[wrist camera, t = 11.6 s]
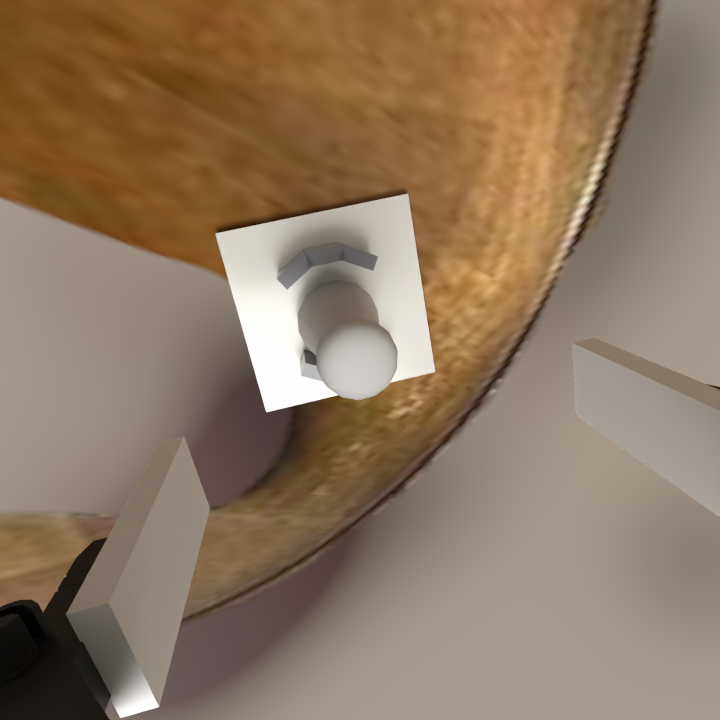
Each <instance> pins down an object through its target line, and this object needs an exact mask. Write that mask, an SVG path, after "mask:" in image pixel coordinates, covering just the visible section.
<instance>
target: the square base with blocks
mask: <svg viewBox="0 0 720 720" xmlns="http://www.w3.org/2000/svg"><path fill="white" fill-rule="evenodd" d="M215 234H216V238H217V241H218V245H219V248H220V252H221V255H222V259H223V262H224V266H225V269H226V273H227V276H228V280H229V283H230V287H231V290H232V294H233V297H234V301H235V304H236V308H237V311H238V315H239V318H240V322H241V325H242V328H243V332H244V336H245V339H246V343H247V346H248V349H249V353H250V357H251V360H252V364H253V367H254V371H255V374H256V378H257V381H258V385H259V388H260V391H261V395H262V399H263V402H264V406H265V409H266V412H269V411H273V410H278V409H282V408H286V407H290V406H295V405H299V404H303V403H307V402H311V401H315V400H320V399H324V398H328V397H332V396H336V395H338V394H336V393H335V392H333V391H332V390H330V389H329V388H327V386H326V385H325V384H324V382H323V380H322V378H321V376H320V374H319V373H318V371H317V363H316V355H315V354H314V353H313V352H312V351H310V350H309V349H308V348H307V347H306V345H305V343H304V341H303V339H302V337H301V335H300V333H299V331H298V315H297V313H298V311H299V309H300V307H301V304H302V302H303V300H304V298H305V296H306V295H307V294H309V293H310V292H311V291H312V290H313V289H314V288H316V287H317V286H318V285H319V284H322V283H326V282H330V281H334V280H341V281H346V282H351V283H356V284H357V285H358V286H360V287H361V288H362V289H363V290H365V291H366V292H367V293H369V294H370V295H371V298H372V300H373V302H374V304H375V306H376V308H377V310H378V317H379V324H380V325H381V326H382V327H383V328H385V329H386V330H387V331H388V332H389V333H390V335H391V337H392V339H393V341H394V343H395V345H396V347H397V351H398V357H397V370H396V372H395V374H394V376H393V378H392V380H391V382H395V381H399V380H403V379H407V378H411V377H416V376H420V375H424V374H428V373H432V372H435V368H434V361H433V355H432V348H431V342H430V335H429V328H428V322H427V315H426V309H425V302H424V296H423V289H422V283H421V276H420V269H419V263H418V256H417V250H416V243H415V237H414V230H413V223H412V217H411V210H410V204H409V197H408V194H403V195H398V196H394V197H389V198H384V199H379V200H374V201H369V202H365V203H360V204H355V205H350V206H345V207H341V208H336V209H331V210H326V211H321V212H316V213H312V214H307V215H302V216H297V217H292V218H287V219H283V220H278V221H273V222H268V223H263V224H258V225H254V226H249V227H244V228H239V229H234V230H229V231H225V232H220V233H215ZM391 382H390V383H391Z"/></svg>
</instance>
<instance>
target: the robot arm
mask: <svg viewBox="0 0 720 720" xmlns="http://www.w3.org/2000/svg"><path fill="white" fill-rule="evenodd" d="M572 345H573V366H574V367H573V368H574V389H575V412H576V416H577V417H579V418H580V419H582V420H583V421H584V422H586V423H587V424H589V425H590V426H592V427H593V428H594V429H596V430H597V431H599V432H600V433H601V434H603V435H604V436H606V437H607V438H609V439H610V440H611V441H613V442H614V443H616V444H617V445H618V446H620V447H621V448H623V449H624V450H626V451H627V452H628V453H630V454H631V455H633V456H634V457H636V458H637V459H638V460H640V461H641V462H643V463H644V464H646V465H647V466H648V467H650V468H651V469H652V470H654V471H655V472H657V473H658V474H660V475H661V476H662V477H664V478H665V479H667V480H668V481H669V482H671V483H672V484H674V485H675V486H677V487H678V488H679V489H681V490H682V491H684V492H685V493H686V494H688V495H689V496H691V497H692V498H694V499H695V500H696V501H698V502H699V503H701V504H702V505H703V506H705V507H706V508H708V509H709V510H711V511H712V512H713V513H715V514H716V515H718V516H719V517H720V387H717V386H712V385H708V384H704V383H701V382H699V381H697V380H694V379H692V378H689V377H687V376H684V375H682V374H680V373H677V372H675V371H672V370H670V369H668V368H665V367H663V366H660V365H658V364H656V363H653V362H651V361H648V360H646V359H643V358H641V357H639V356H636V355H634V354H631V353H629V352H626V351H624V350H622V349H619V348H617V347H614V346H612V345H610V344H607V343H605V342H602V341H600V340H597V339H595V338H591V339H587V340H582V341H579V342H574V343H572ZM209 510H210V508H209V505H208V502H207V499H206V497H205V494H204V491H203V488H202V485H201V483H200V480H199V477H198V475H197V472H196V469H195V466H194V463H193V460H192V457H191V455H190V452H189V449H188V446H187V444H186V441H185V438H184V437H180V438H176V439H172V440H168V441H164V442H160V443H159V444H158V446H157V448H156V450H155V452H154V454H153V455H152V457H151V459H150V461H149V463H148V465H147V466H146V468H145V470H144V472H143V474H142V476H141V477H140V479H139V481H138V483H137V485H136V487H135V488H134V490H133V492H132V494H131V496H130V498H129V499H128V501H127V503H126V505H125V507H124V509H123V510H122V512H121V514H120V516H119V518H118V520H117V521H116V523H115V525H114V527H113V529H112V531H111V532H110V534H109V536H108V537H107V538H103V539H100V540H96V541H93V542H92V543H91V544H90V545H89V546H88V547H87V548H86V549H85V550H84V551H83V552H82V553H81V554H80V555H79V556H78V557H77V558H76V559H75V561H74V563H73V564H72V566H71V568H70V569H69V571H68V573H67V574H66V575H67V577H65V578H64V579H63V581H62V582H61V584H60V586H59V587H58V592H55V594H54V596H53V597H52V599H51V601H50V602H49V604H48V606H47V607H46V609H45V611H44V612H42V610H41V608H40V606H39V605H38V603H36V602H34V601H33V600H18V601H15V602H12V603H9V604H6V605H4V606H2V607H0V720H110V719H109V718H108V716H107V715H106V713H105V710H106V707H107V705H108V702H109V699H111V701H112V703H113V705H114V707H115V709H116V710H117V712H118V714H119V716H120V718H122V717H126V716H129V715H133V714H136V713H139V712H143V711H146V710H150V709H153V708H157V707H159V705H160V701H161V697H162V693H163V689H164V685H165V682H166V678H167V674H168V670H169V666H170V661H171V658H172V654H173V650H174V646H175V643H176V639H177V635H178V631H179V627H180V623H181V619H182V615H183V611H184V607H185V603H186V600H187V596H188V592H189V588H190V584H191V580H192V576H193V572H194V568H195V564H196V560H197V557H198V553H199V549H200V545H201V541H202V537H203V533H204V529H205V525H206V521H207V517H208V514H209Z"/></svg>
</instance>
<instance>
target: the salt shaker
mask: <svg viewBox="0 0 720 720" xmlns="http://www.w3.org/2000/svg"><path fill="white" fill-rule="evenodd" d="M297 315H298V331H299V333H300V335H301V337H302V339H303V341H304V343H305V345H306V347H307V348H308V349H309V350H310V351H312V352H313V353H314V354H315V355H316V363H317V371H318V373H319V374H320V376H321V378H322V380H323V382H324V384H325V385H326V386H327V388H329V389H330V390H332V391H333V392H335V393H336V394H338V395H339V396H341V397H344V398H349V399H355V400H361V399H365V398H368V397H372V396H375V395H377V394H378V393H379V392H381V391H382V390H383V389H384V388H386V387H387V386H388V385H389V384H390V382H391V380H392V378H393V376H394V374H395V372H396V370H397V357H398V351H397V347H396V345H395V343H394V341H393V339H392V337H391V335H390V333H389V332H388V331H387V330H386V329H385V328H383V327H382V326H381V325H380V324H379V317H378V310H377V308H376V306H375V304H374V302H373V300H372V298H371V295H370V294H369V293H367V292H366V291H365V290H363V289H362V288H361V287H360V286H358V285H357V284H356V283H351V282H346V281H341V280H334V281H330V282H326V283H322V284H319V285H318V286H317V287H316V288H314V289H313V290H312V291H311V292H310V293H309V294H307V295H306V296H305V298H304V300H303V302H302V304H301V307H300V309H299V311H298V313H297Z"/></svg>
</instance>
